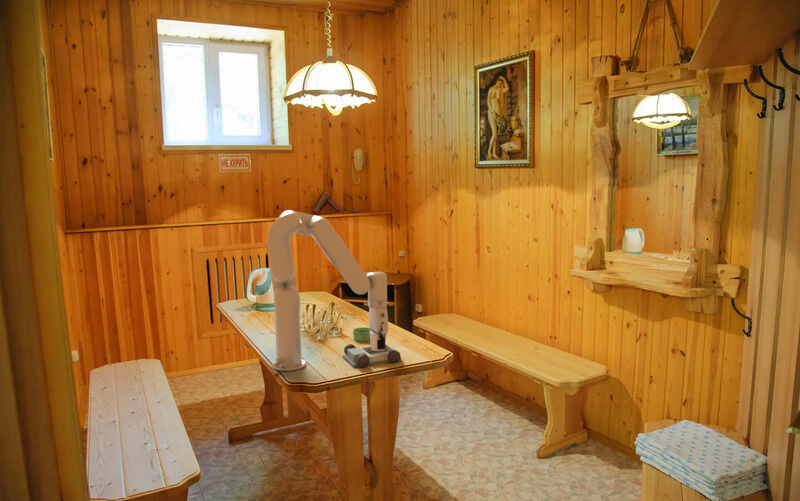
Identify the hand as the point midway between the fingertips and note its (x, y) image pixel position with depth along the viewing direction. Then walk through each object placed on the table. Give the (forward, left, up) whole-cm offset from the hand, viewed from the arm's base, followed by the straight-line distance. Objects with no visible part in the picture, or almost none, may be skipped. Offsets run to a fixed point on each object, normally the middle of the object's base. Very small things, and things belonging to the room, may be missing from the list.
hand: (378, 346), depth 223 cm
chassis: (-2, +2, -5) cm, 6 cm away
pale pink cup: (0, 0, -1) cm, 1 cm away
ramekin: (+22, +17, -5) cm, 28 cm away
